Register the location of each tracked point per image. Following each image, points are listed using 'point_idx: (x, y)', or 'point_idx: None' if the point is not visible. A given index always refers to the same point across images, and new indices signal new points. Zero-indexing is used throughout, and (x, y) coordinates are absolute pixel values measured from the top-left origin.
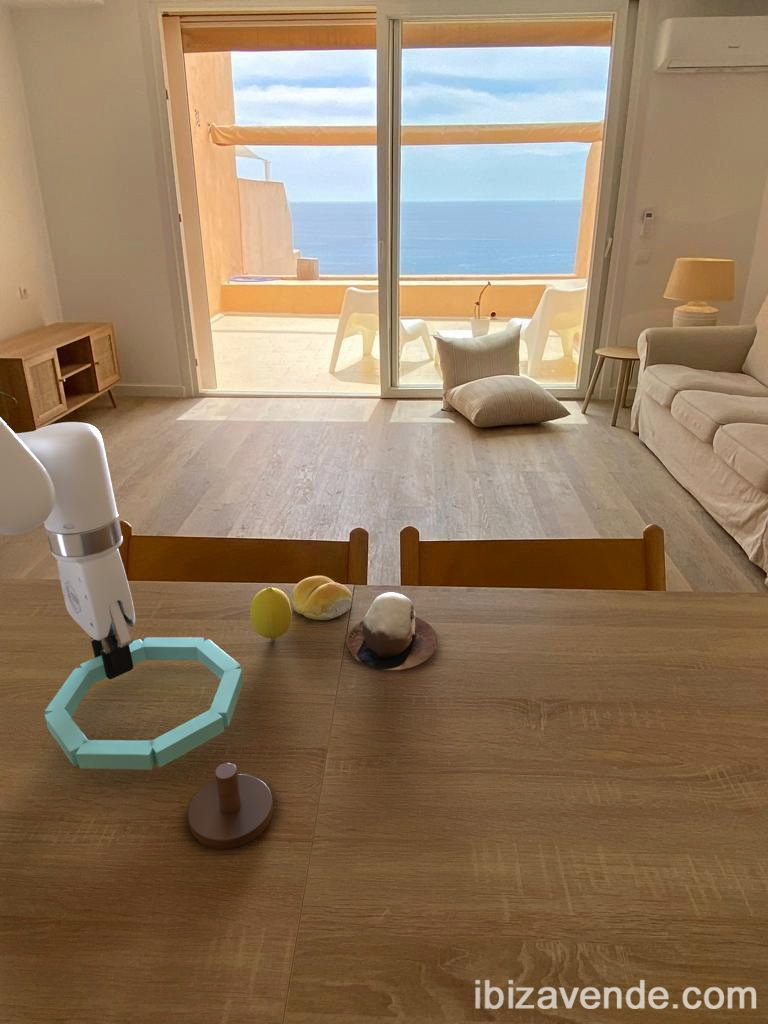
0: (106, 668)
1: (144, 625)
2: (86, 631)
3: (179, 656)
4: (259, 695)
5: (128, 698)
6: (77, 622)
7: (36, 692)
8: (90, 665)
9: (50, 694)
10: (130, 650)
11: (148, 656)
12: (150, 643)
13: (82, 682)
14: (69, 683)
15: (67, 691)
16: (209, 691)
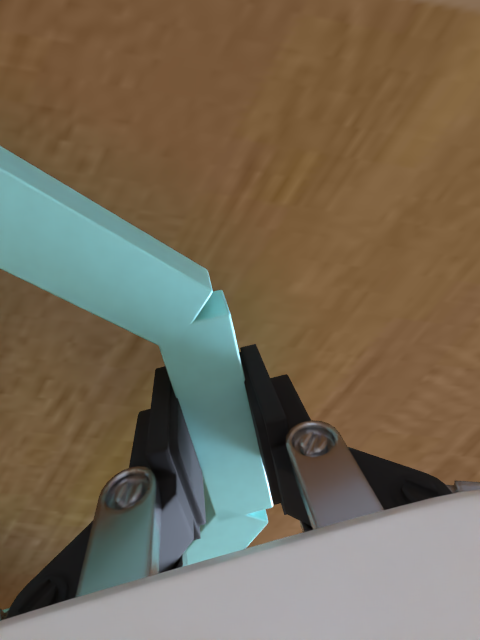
0: (154, 397)
1: (435, 437)
2: (49, 635)
3: None
4: (6, 600)
5: (129, 369)
6: (284, 557)
7: (324, 106)
8: (194, 351)
9: (282, 154)
10: (216, 481)
11: (205, 487)
12: (220, 533)
13: (79, 306)
14: (89, 253)
15: (16, 235)
16: (67, 528)
